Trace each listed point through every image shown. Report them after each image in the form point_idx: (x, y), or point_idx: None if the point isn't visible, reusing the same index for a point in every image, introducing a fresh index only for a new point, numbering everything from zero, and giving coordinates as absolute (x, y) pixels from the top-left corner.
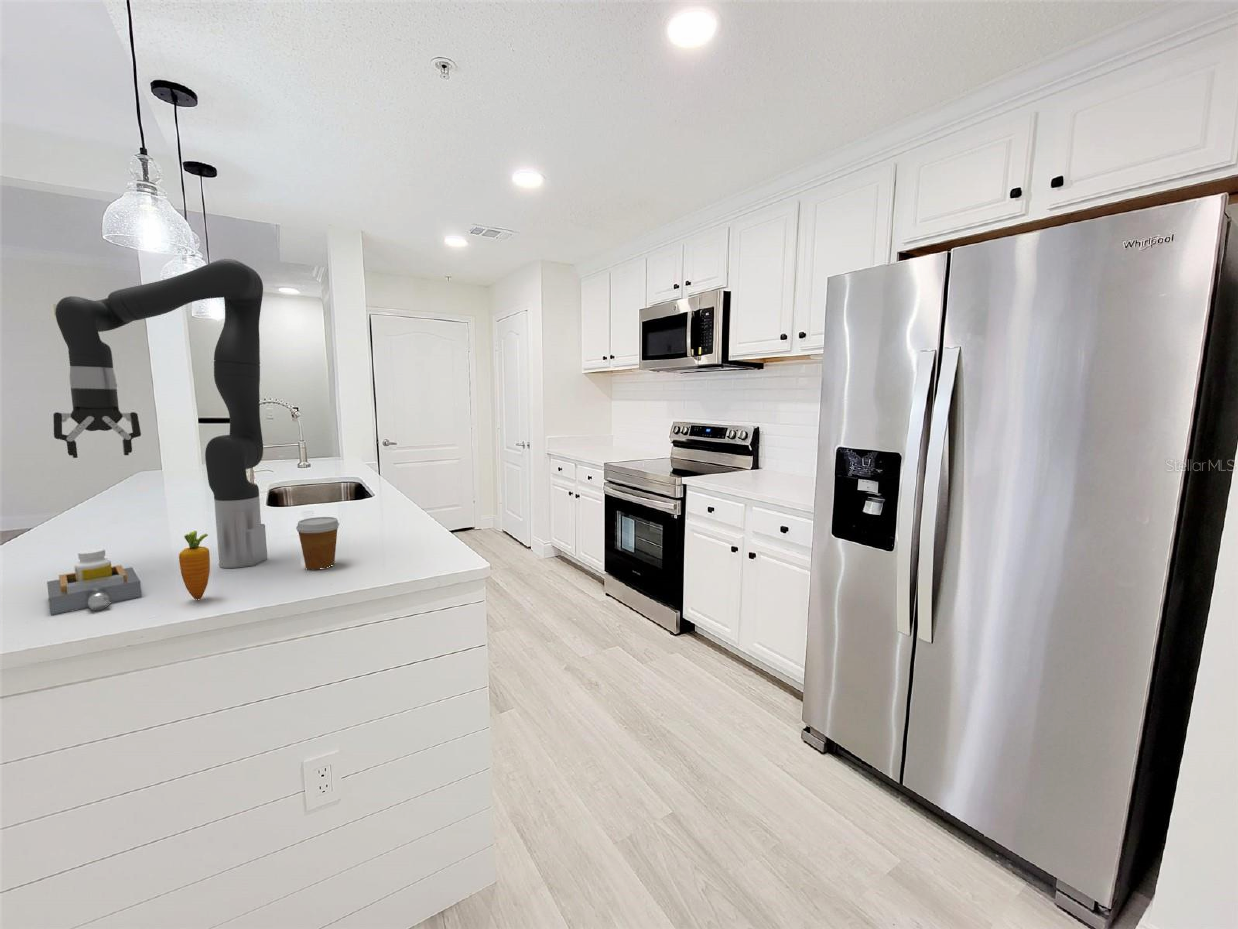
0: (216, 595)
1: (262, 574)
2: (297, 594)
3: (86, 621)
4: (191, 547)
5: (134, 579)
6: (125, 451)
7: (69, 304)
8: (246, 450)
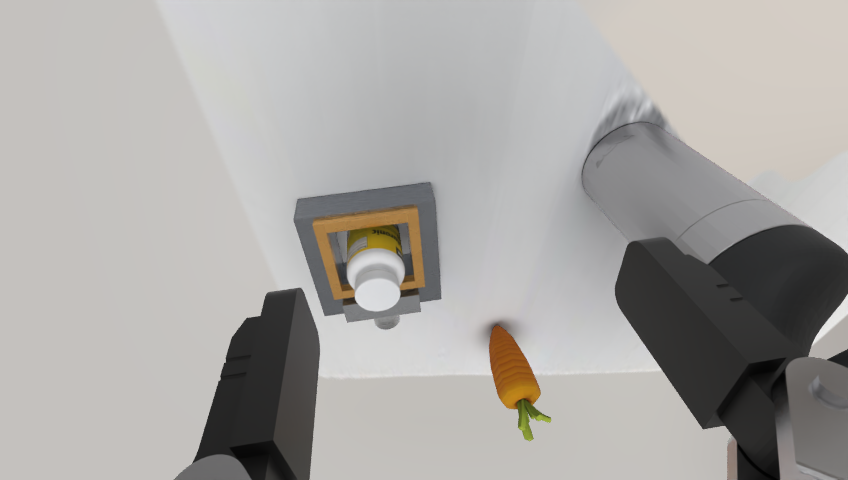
0: (519, 319)
1: (607, 261)
2: (589, 358)
3: (374, 334)
4: (519, 407)
5: (434, 286)
6: (637, 323)
7: None
8: None
